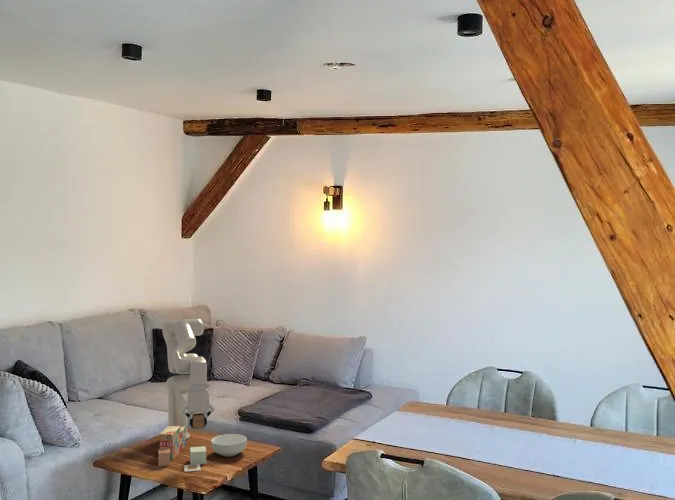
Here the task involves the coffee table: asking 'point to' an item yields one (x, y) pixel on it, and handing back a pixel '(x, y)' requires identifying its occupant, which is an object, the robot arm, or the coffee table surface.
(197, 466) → the tile
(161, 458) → the terracotta block
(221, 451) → the cereal bowl
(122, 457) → the coffee table surface
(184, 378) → the robot arm
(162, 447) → the stack of blocks
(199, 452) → the sage base block
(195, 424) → the walnut block
